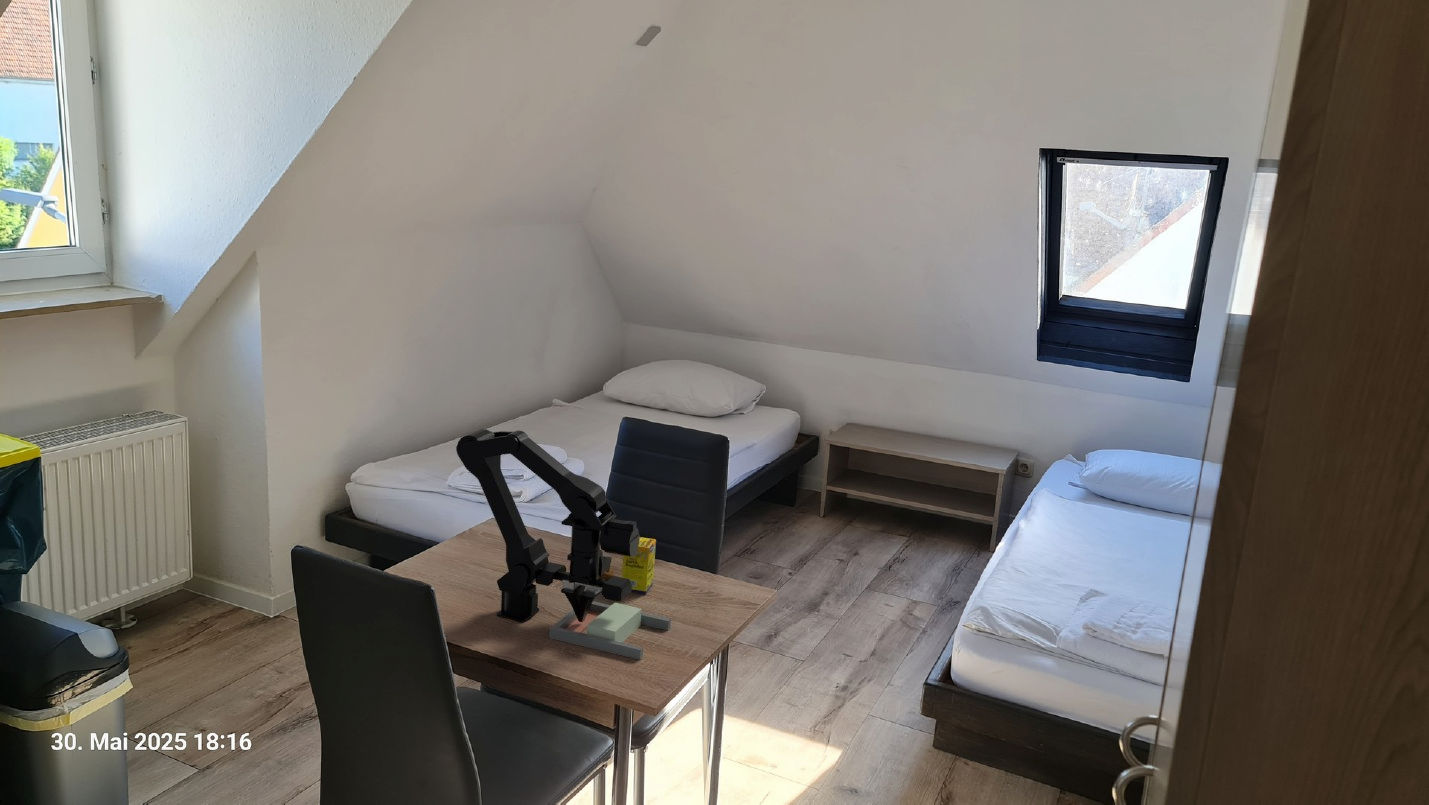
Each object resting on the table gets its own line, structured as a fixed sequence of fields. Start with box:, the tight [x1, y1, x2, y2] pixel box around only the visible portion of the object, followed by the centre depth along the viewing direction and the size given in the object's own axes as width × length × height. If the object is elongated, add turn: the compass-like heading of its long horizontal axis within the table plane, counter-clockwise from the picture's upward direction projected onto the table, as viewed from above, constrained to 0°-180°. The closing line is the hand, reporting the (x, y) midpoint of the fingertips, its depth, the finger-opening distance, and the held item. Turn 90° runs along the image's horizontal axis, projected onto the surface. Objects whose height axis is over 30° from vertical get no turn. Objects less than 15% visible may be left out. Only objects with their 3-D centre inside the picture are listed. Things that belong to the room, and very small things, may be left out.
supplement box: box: [621, 536, 657, 595], centre depth 218 cm, size 6×6×11 cm
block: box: [586, 602, 642, 643], centre depth 196 cm, size 6×12×4 cm, turn 159°
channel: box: [548, 601, 672, 661], centre depth 196 cm, size 19×15×2 cm
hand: (581, 621), depth 198 cm, fingers closed
